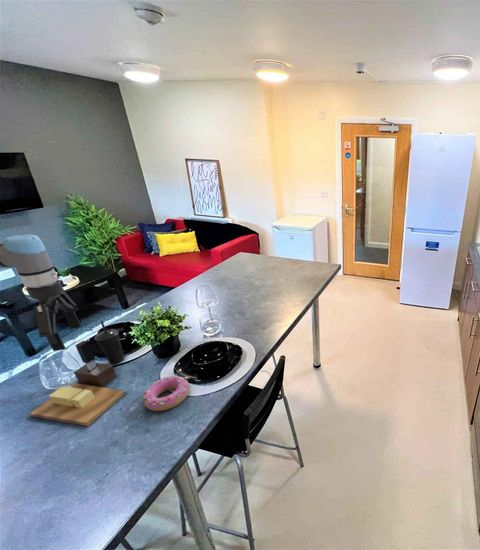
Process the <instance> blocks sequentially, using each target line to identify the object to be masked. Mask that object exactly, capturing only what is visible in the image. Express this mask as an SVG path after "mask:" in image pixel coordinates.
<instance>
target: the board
mask: <svg viewBox="0 0 480 550" xmlns="http://www.w3.org/2000/svg"><path fill="white" fill-rule="evenodd" d="M72 383H73V384H72ZM72 383H71V384H72V385H71V387H72V388H78V389H82V390H83V391H84V390H91V391H92V393H93V395H94V397H95V398H94V399H93V400H91V401H90V402H89V403H88V404H86V405H85V406H84V407H83V408H78V407H75V405H74V406H66V405H60V404H54V403H52V401H51V399H50V398H49V399H48V400H46V401H44V402H43V403H41V405H39V406H37V407H36V408H35V409H33V410H32V411H31V412H29V415H30V417H32V418H33V417H34V418H38V419H39V418H40V419H44V420H45V419H46V420H50V421H57V422H62V423H69V424H74V425H81V426H84V427H85V426H87V427H89V425H91V424H93V422H95V420H97V419H98V418H99V417H100V416H101V415H103V414H104V413H105V412H106V411H107V410H108V409H109V408H111V406H113V405H114V404H115V403H116V402H118V401H119V400H120V399H121V398H122V397H123V396H125V395H126V392H125V390H122V389H114V388H110V387H104V386H103V387H97V386H90V385H84V384H79V383H77V382H72Z"/></svg>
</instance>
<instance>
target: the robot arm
mask: <svg viewBox="0 0 480 550" xmlns="http://www.w3.org/2000/svg"><path fill="white" fill-rule="evenodd" d="M0 268H5V269H6V268H14V269H15V270H16V272H17V274H18V276H19V278H20V280H21V282H22V284H23V286H24V287H26V288H25V290H26V293H27V294H28V295H29V298H30V299H33V300H37V301H38V303H39V305H34V306H33V310H34V313H35V318H36V322H37V323H36V324H37V330H38V336H39V337H40V338H46V339H47V341H48V343H49V345H50V347H51V349H52V351H53V352H57V351H62V350H66V345H65V344H64V341H63V339H62V337H61V336H60V334H59V331H56V329H57V328H56V314H58V309H60V310H61V311H63V315H64V318H65V320H66V322H67V324H68V326H69V329H78V328H81V327H82V325H81V323H80V320H79V318H78V315H77V314H76V311H78V306H77V303H76V302H75V301H74V300H73V299H72V298H71V297H70V296H69V295H68V294H67V292H66V291H65V289H64V288H63V285H62V282H61V281H60V280H59V277H58V274H59V273H58V272H57V271H56V270H55V268H54V266H53V264H52V261H51V259H50V257H49V254H48V251H47V247H46V246H45V244H44V242H43V241H42V240H41V238H40V237H39V236H38V235H37V234H36V235H35V234H18V235H12V236H8V237H5V238H4V239H2V242H0Z"/></svg>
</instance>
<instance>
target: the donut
mask: <svg viewBox="0 0 480 550" xmlns="http://www.w3.org/2000/svg"><path fill="white" fill-rule="evenodd" d="M174 389H175V390H174ZM169 390H174V391H173V392H172V393H170V394H168V395H166V396H162V397H160V395H161V394H163V393H164V392H166V391H167V392H168V391H169ZM189 393H190V383H189V381H188V380H187V379H186V378H185V377H183V376H178V375H168V376H165V377H163V378H160V379H158V380H156V381H155V382H153V383H151V384H150V385H149V386H148V387H147V388H146V389H145V390H144V392H143V395H142V396H141V397H142V401H143V404H144V406H145V407H146V408H147V409H148V410H151V411H152V412H162V411H167V410H170V409H173V408H175V407H177V406H178V405H180V404H181V403H182V402H184V400H185V399H187V397H188V395H189Z"/></svg>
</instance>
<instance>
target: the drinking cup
mask: <svg viewBox="0 0 480 550" xmlns="http://www.w3.org/2000/svg"><path fill="white" fill-rule="evenodd" d="M100 324H101V327H102V329H103V331H101V332H99V333H97V334H96V335H95V336H94V340H95V342H97V344H98V345H99V347H100V349H101V351H102V352H103V354H104V356H105V358H106V359H107V361H108V363H109V365H117V364H120V363H122V362H123V361H124V360H125V356H124V351H123V347H122V343H121V339H120V335H119V334H120V331H119V330H118V329H116V328H110V329H107V328H106V327H105V323H104V321H103V320H101V321H100Z"/></svg>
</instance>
